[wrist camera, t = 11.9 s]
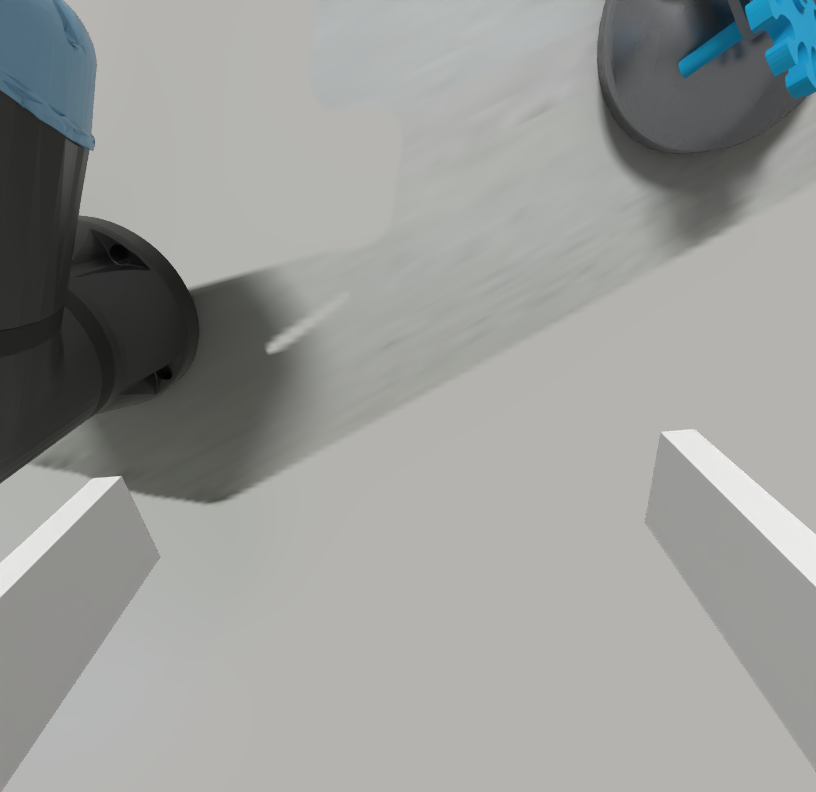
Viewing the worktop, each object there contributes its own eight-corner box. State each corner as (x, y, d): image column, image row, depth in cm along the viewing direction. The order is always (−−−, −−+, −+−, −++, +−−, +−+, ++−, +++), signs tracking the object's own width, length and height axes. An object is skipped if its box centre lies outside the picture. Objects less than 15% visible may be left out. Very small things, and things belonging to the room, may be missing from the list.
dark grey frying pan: (647, 196, 32) (665, 197, 30) (559, -4, 27) (572, -21, 25) (900, 26, 28) (943, 12, 25) (849, -250, 23) (897, -298, 20)
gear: (857, 58, 25) (825, 103, 20) (737, 124, 30) (688, 173, 25) (789, -153, 22) (735, -160, 18) (671, -42, 27) (602, -23, 23)
